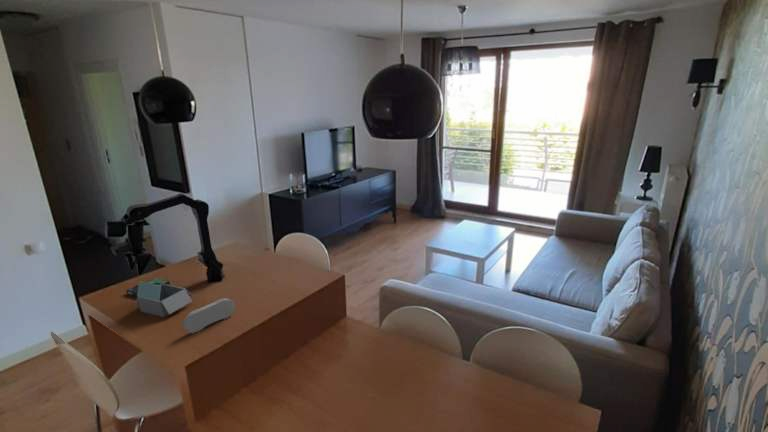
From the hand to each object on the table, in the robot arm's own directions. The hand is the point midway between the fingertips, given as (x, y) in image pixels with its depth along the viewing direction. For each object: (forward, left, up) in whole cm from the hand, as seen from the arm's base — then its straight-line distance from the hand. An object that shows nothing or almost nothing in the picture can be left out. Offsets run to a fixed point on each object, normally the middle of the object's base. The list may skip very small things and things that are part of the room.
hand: (135, 272), depth 164 cm
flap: (-9, +9, -5) cm, 13 cm away
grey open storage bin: (-12, +4, -15) cm, 19 cm away
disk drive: (+4, -14, -16) cm, 22 cm away
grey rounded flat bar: (-35, +22, -15) cm, 44 cm away
